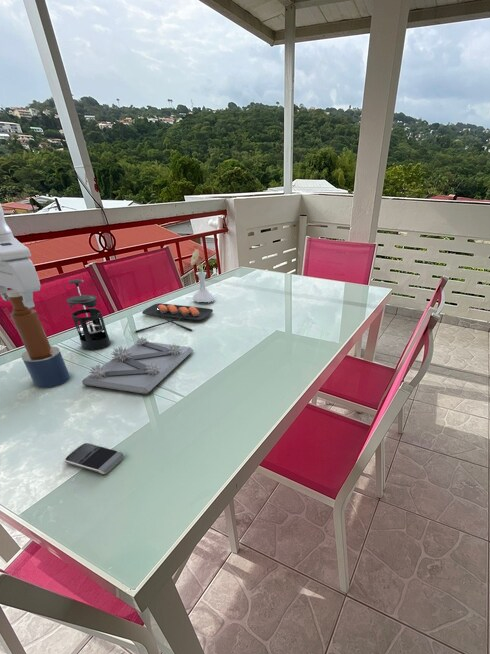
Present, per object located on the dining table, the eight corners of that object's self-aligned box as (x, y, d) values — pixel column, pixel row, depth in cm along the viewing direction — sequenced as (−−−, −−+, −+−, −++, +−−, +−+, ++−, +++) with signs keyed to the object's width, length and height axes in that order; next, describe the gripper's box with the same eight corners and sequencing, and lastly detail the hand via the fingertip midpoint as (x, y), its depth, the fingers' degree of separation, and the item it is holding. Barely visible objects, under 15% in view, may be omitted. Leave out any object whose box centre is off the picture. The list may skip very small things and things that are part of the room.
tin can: (27, 382, 98) (13, 355, 93) (58, 369, 105) (47, 343, 100) (46, 391, 95) (33, 363, 89) (77, 377, 101) (66, 350, 96)
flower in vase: (194, 297, 170) (187, 245, 156) (217, 298, 171) (212, 245, 157) (190, 306, 159) (182, 250, 145) (214, 306, 160) (209, 251, 146)
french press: (105, 351, 117) (84, 284, 104) (76, 351, 115) (52, 284, 102) (115, 337, 126) (98, 275, 113) (89, 337, 125) (68, 275, 112)
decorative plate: (148, 397, 94) (143, 375, 90) (81, 387, 97) (72, 366, 93) (194, 352, 119) (192, 333, 115) (140, 345, 122) (135, 327, 118)
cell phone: (86, 446, 77) (84, 441, 76) (126, 457, 74) (124, 452, 74) (63, 464, 72) (61, 459, 71) (105, 476, 70) (103, 472, 69)
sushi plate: (215, 313, 153) (214, 304, 151) (186, 338, 128) (184, 329, 126) (157, 306, 156) (155, 298, 154) (117, 330, 132) (115, 321, 129)
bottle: (24, 354, 93) (-5, 291, 84) (44, 347, 98) (19, 286, 88) (36, 359, 91) (7, 295, 82) (56, 351, 96) (31, 290, 86)
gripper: (-45, 242, 80) (-17, 299, 88) (3, 254, 73) (29, 314, 81) (-15, 239, 85) (9, 293, 93) (33, 249, 78) (55, 307, 85)
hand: (19, 303), depth 86 cm, fingers open, 8 cm apart
